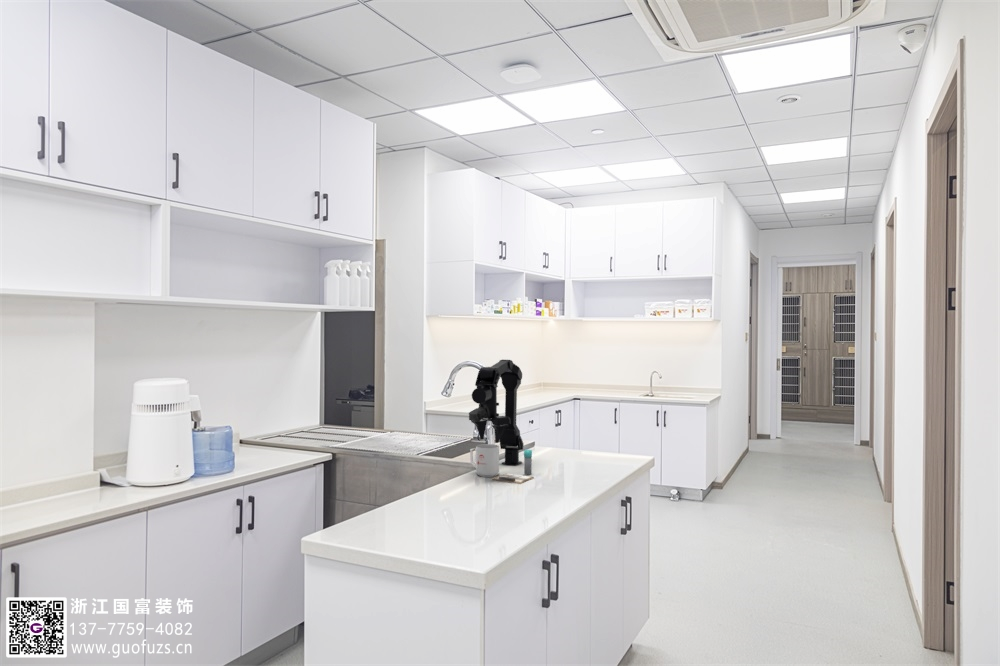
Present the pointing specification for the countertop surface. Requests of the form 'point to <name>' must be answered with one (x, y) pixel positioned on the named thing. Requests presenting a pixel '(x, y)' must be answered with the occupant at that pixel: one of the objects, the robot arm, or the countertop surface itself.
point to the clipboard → (513, 478)
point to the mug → (486, 460)
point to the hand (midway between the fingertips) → (489, 440)
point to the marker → (527, 462)
